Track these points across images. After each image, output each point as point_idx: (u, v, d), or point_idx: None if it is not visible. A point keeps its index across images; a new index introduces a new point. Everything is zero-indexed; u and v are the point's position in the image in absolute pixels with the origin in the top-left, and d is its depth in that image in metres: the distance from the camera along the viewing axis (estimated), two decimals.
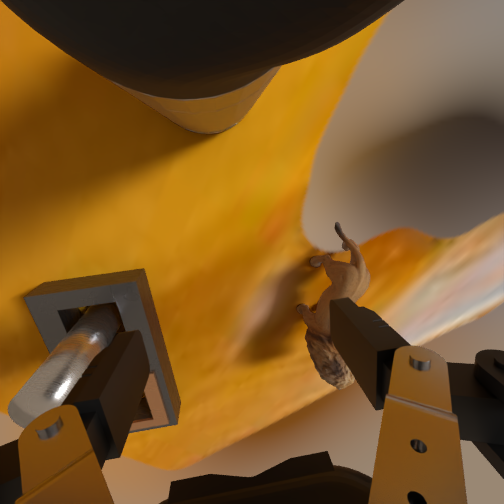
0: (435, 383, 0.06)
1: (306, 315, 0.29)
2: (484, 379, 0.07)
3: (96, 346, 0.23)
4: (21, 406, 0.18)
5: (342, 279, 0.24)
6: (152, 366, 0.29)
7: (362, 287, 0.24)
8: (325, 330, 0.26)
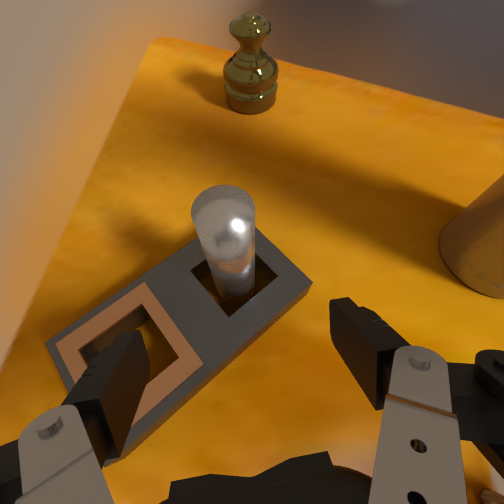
0: (435, 383, 0.06)
1: None
2: (484, 379, 0.07)
3: (251, 265, 0.20)
4: (224, 194, 0.16)
5: None
6: (212, 357, 0.20)
7: None
8: None
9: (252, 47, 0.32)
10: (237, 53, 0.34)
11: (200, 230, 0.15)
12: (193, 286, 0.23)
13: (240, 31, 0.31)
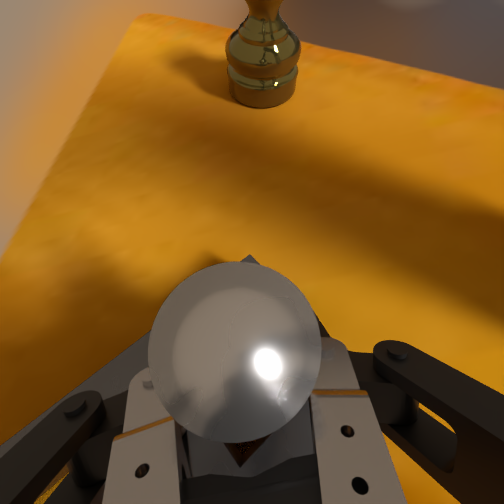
0: (329, 369, 0.07)
1: None
2: (384, 371, 0.07)
3: None
4: (237, 290, 0.06)
5: None
6: None
7: None
8: None
9: (266, 11, 0.23)
10: (245, 22, 0.24)
11: None
12: None
13: None
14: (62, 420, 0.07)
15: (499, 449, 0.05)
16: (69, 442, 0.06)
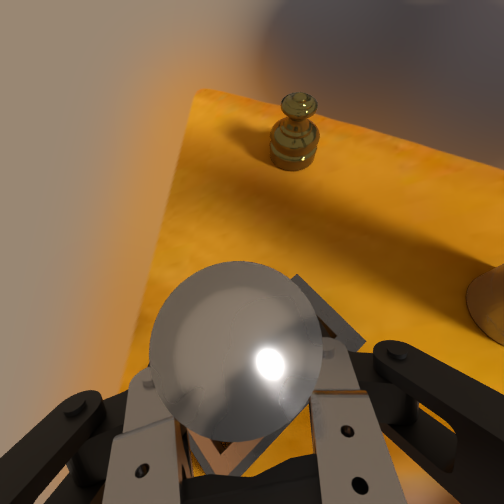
0: (329, 369, 0.07)
1: None
2: (384, 371, 0.07)
3: None
4: (238, 289, 0.06)
5: None
6: None
7: None
8: None
9: (300, 121, 0.37)
10: (285, 123, 0.39)
11: (171, 413, 0.05)
12: None
13: (291, 111, 0.35)
14: (62, 420, 0.07)
15: (499, 449, 0.05)
16: (70, 442, 0.06)
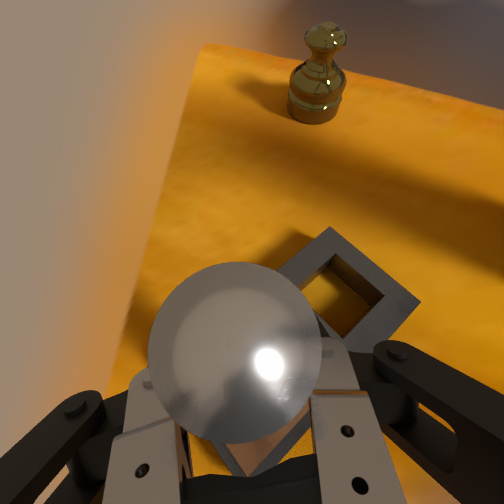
0: (329, 369, 0.07)
1: None
2: (384, 372, 0.07)
3: None
4: (237, 290, 0.06)
5: None
6: None
7: None
8: None
9: (326, 58, 0.32)
10: (308, 63, 0.34)
11: None
12: None
13: (318, 42, 0.30)
14: (62, 420, 0.07)
15: (499, 449, 0.05)
16: (70, 442, 0.06)
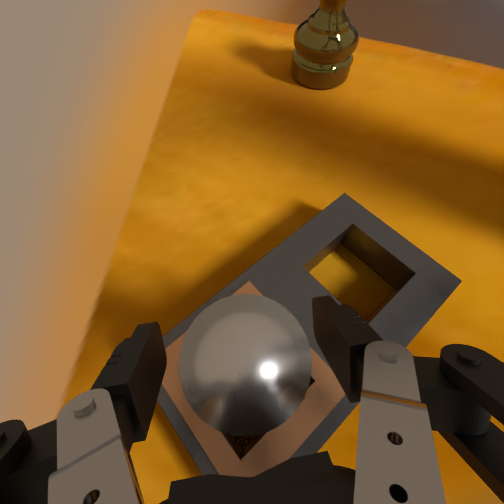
0: (399, 375, 0.07)
1: None
2: (450, 374, 0.07)
3: None
4: (246, 317, 0.08)
5: None
6: None
7: None
8: None
9: (337, 5, 0.28)
10: (315, 15, 0.29)
11: None
12: (310, 287, 0.18)
13: None
14: None
15: None
16: None
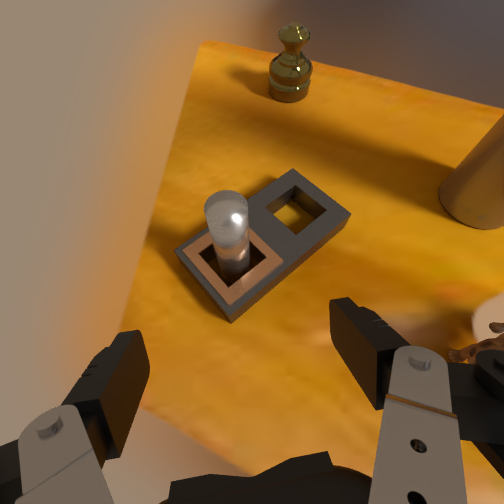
0: (435, 383, 0.06)
1: None
2: (484, 379, 0.07)
3: (246, 248, 0.27)
4: (226, 196, 0.23)
5: None
6: (288, 257, 0.30)
7: None
8: None
9: (295, 49, 0.42)
10: (282, 54, 0.44)
11: (210, 221, 0.22)
12: (268, 216, 0.33)
13: (288, 37, 0.41)
14: None
15: None
16: None
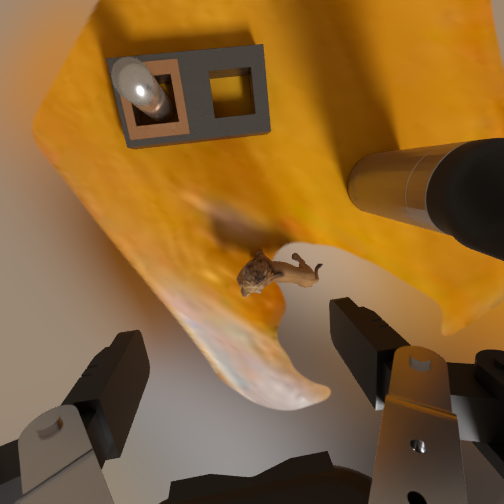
0: (435, 383, 0.06)
1: None
2: (484, 379, 0.07)
3: (155, 110, 0.31)
4: (137, 68, 0.25)
5: (308, 271, 0.40)
6: (195, 133, 0.36)
7: (307, 283, 0.39)
8: (274, 268, 0.39)
9: None
10: None
11: (113, 83, 0.26)
12: (204, 84, 0.34)
13: None
14: None
15: None
16: None
